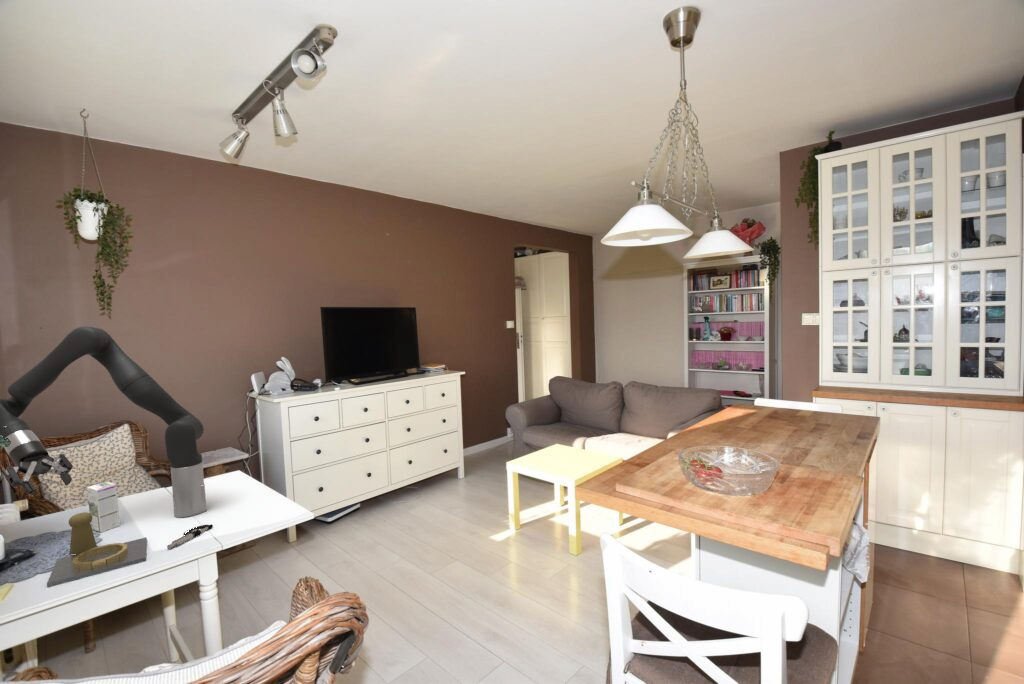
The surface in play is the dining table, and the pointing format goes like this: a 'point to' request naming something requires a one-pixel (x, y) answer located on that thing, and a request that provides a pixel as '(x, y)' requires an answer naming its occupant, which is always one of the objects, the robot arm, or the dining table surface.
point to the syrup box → (103, 506)
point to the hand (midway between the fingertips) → (52, 487)
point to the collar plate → (98, 561)
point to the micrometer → (189, 535)
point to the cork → (81, 533)
